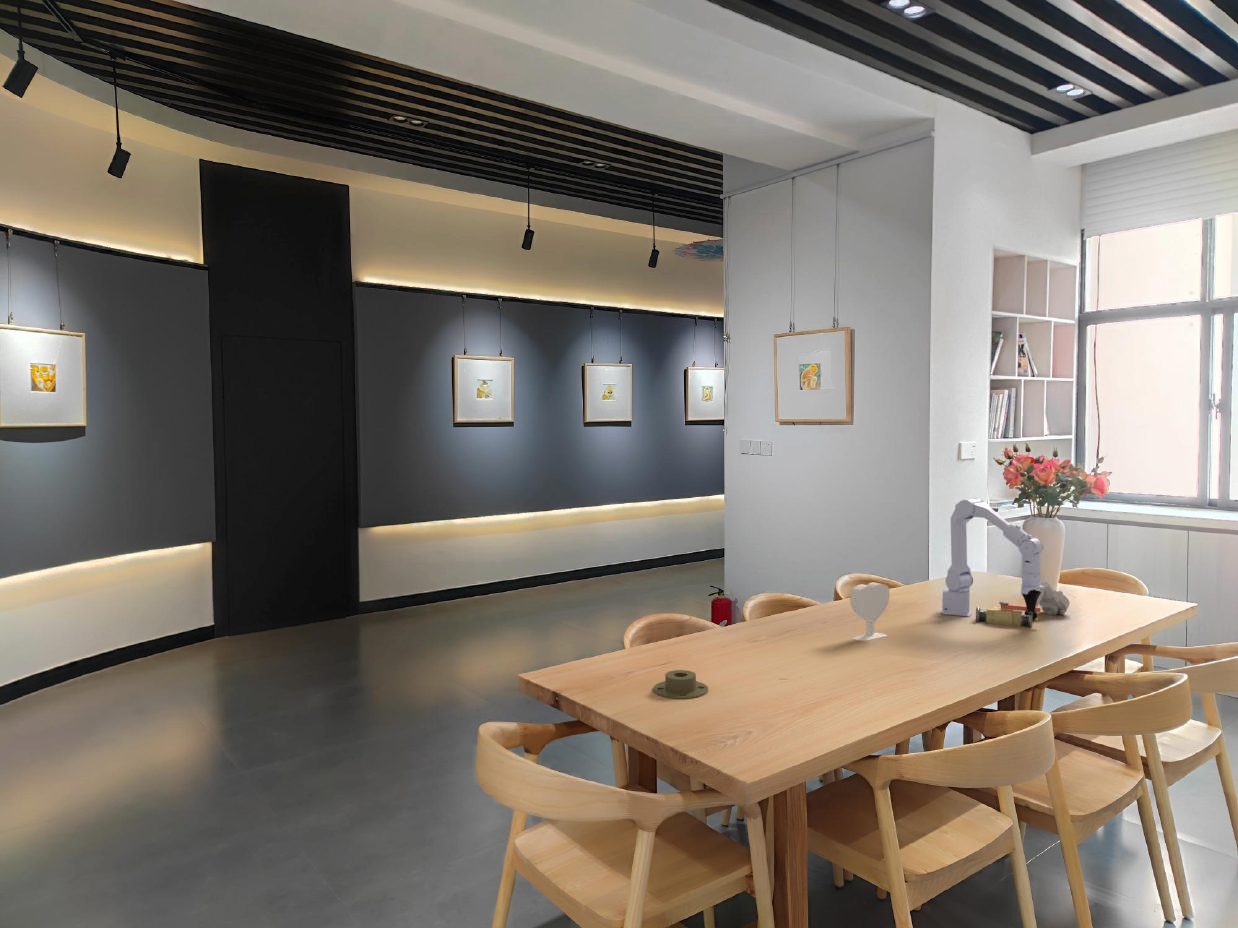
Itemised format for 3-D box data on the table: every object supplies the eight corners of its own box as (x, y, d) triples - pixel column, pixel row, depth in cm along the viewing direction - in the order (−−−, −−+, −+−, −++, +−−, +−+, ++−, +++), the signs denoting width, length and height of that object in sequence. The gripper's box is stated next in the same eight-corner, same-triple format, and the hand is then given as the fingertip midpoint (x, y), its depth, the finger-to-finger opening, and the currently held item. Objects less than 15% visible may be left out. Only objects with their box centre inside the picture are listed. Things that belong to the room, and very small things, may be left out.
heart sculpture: (879, 631, 281) (879, 580, 280) (891, 634, 276) (891, 582, 276) (848, 638, 273) (848, 585, 272) (859, 641, 268) (859, 588, 267)
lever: (999, 608, 289) (999, 602, 289) (999, 607, 292) (999, 601, 292) (1039, 612, 282) (1039, 606, 282) (1040, 610, 285) (1040, 604, 285)
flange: (703, 665, 230) (651, 667, 230) (711, 682, 215) (655, 684, 215) (704, 681, 231) (651, 683, 230) (711, 699, 216) (655, 701, 215)
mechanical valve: (1075, 607, 301) (1058, 579, 295) (1057, 644, 293) (1040, 616, 288) (1047, 604, 309) (1031, 577, 304) (1029, 640, 302) (1012, 613, 297)
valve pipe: (975, 625, 292) (975, 608, 292) (977, 621, 297) (977, 604, 297) (1031, 630, 283) (1031, 613, 283) (1032, 627, 288) (1032, 609, 288)
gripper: (1036, 577, 275) (1036, 616, 276) (1050, 571, 285) (1050, 609, 286) (1014, 574, 280) (1014, 613, 281) (1028, 569, 290) (1028, 606, 291)
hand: (1031, 611), depth 284 cm, fingers closed
